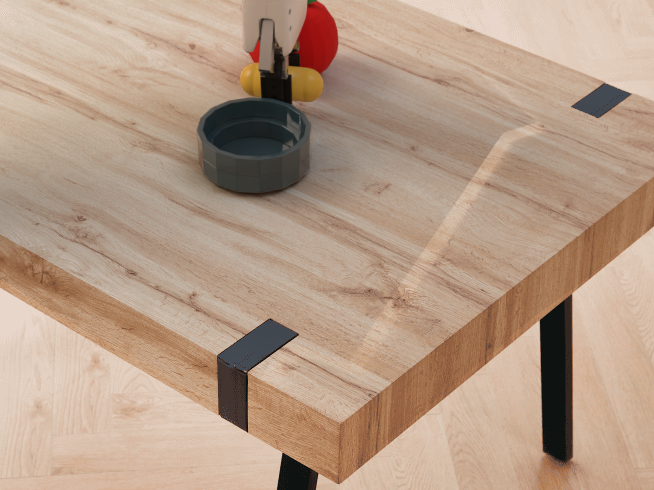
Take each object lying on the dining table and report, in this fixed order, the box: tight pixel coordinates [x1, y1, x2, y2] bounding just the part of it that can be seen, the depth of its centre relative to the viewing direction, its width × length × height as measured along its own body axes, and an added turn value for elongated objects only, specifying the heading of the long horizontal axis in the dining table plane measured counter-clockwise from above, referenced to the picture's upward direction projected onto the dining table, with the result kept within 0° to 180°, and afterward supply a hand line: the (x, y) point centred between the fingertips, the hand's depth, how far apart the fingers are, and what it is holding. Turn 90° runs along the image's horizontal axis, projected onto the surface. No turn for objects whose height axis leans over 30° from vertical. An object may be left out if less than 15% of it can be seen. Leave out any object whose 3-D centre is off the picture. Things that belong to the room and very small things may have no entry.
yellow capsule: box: [239, 62, 325, 103], centre depth 114 cm, size 9×4×4 cm, turn 81°
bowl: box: [196, 96, 312, 194], centre depth 109 cm, size 11×11×4 cm
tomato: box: [248, 0, 339, 75], centre depth 120 cm, size 10×10×10 cm
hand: (281, 95), depth 115 cm, fingers closed on yellow capsule, 3 cm apart
